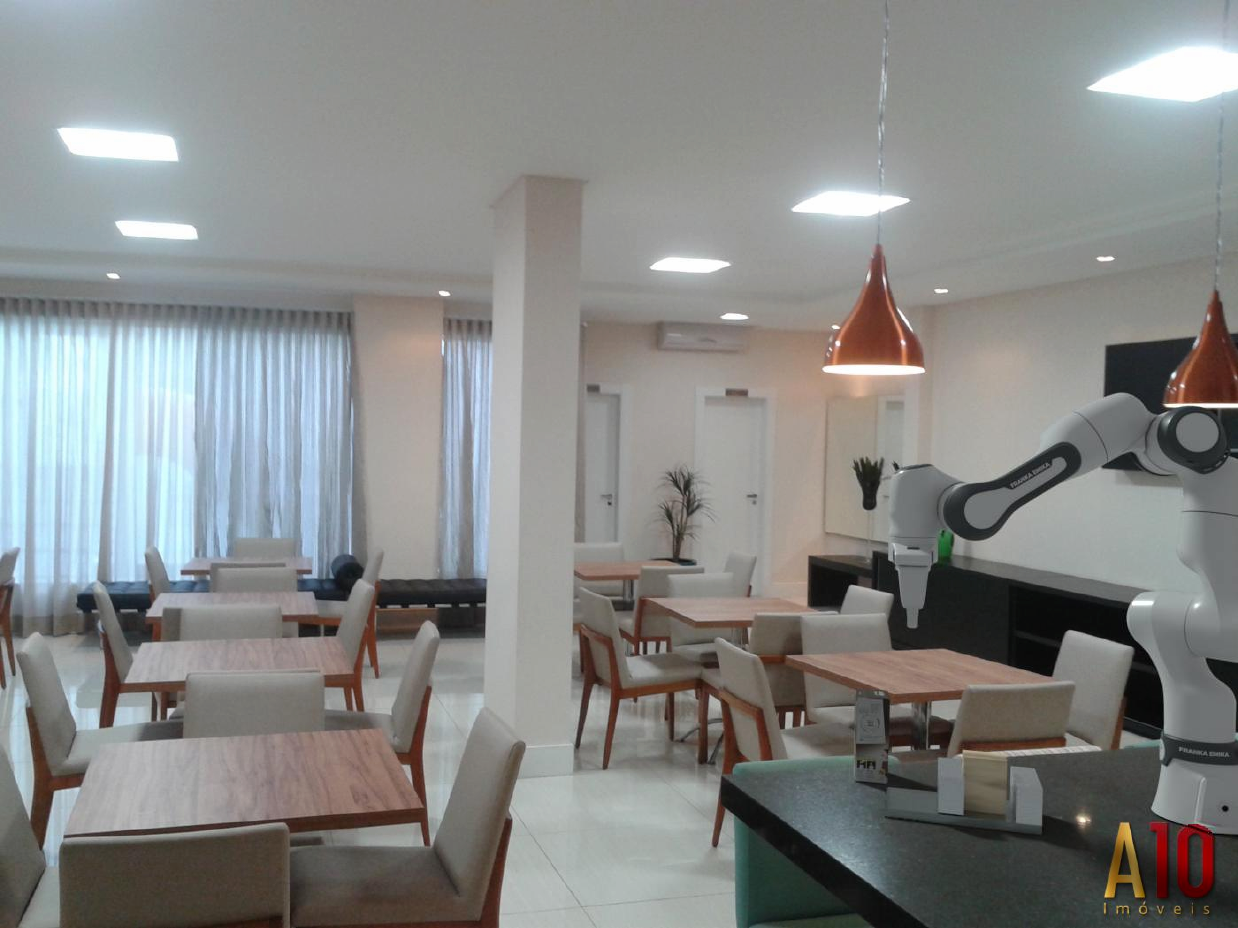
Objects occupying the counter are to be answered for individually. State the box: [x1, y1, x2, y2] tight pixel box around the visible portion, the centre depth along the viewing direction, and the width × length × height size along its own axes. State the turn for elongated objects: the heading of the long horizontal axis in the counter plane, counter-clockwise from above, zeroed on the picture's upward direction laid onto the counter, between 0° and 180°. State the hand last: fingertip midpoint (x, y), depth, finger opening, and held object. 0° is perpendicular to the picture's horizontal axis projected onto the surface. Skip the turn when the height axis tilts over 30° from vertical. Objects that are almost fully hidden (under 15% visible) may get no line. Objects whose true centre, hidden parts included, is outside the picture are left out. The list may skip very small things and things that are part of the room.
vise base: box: [884, 765, 1044, 836], centre depth 184 cm, size 25×13×8 cm, turn 74°
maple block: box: [962, 749, 1008, 815], centre depth 183 cm, size 5×7×9 cm
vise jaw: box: [936, 756, 964, 815], centre depth 184 cm, size 4×13×6 cm, turn 164°
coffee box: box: [853, 688, 891, 785], centre depth 205 cm, size 9×6×16 cm
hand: (912, 626), depth 195 cm, fingers closed
